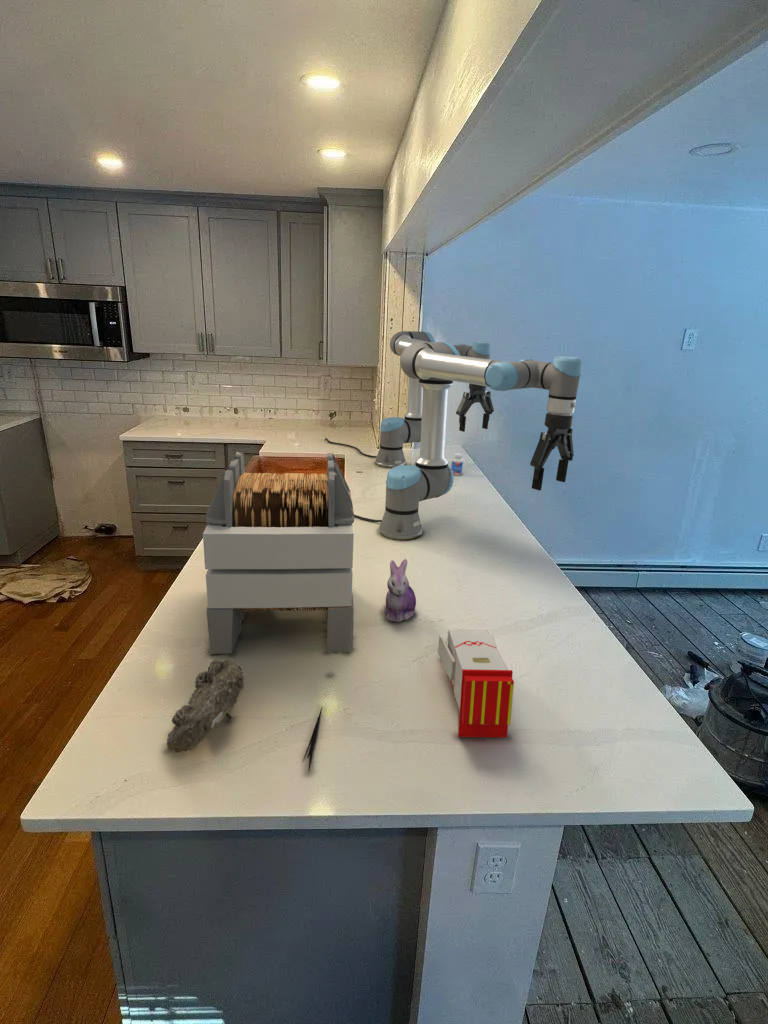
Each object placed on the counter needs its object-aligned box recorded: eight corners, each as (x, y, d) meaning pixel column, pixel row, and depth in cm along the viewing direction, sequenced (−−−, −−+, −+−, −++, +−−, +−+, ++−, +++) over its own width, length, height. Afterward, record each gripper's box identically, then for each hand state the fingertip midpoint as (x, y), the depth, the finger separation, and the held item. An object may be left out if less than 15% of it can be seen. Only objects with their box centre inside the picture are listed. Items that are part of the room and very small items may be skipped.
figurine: (392, 627, 141) (395, 572, 136) (374, 608, 149) (376, 556, 144) (425, 619, 145) (429, 566, 140) (405, 601, 154) (408, 550, 149)
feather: (331, 679, 122) (336, 673, 122) (307, 777, 96) (313, 769, 95) (324, 675, 122) (329, 669, 121) (298, 772, 95) (304, 764, 95)
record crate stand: (229, 585, 158) (221, 442, 144) (346, 584, 161) (350, 444, 148) (206, 656, 126) (193, 481, 112) (353, 652, 130) (358, 483, 116)
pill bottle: (453, 475, 274) (455, 456, 270) (448, 472, 278) (450, 453, 275) (463, 474, 276) (465, 455, 272) (458, 471, 280) (460, 452, 277)
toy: (488, 613, 130) (523, 677, 101) (484, 667, 133) (517, 744, 104) (435, 612, 130) (455, 676, 101) (432, 666, 133) (451, 743, 103)
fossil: (192, 660, 117) (244, 628, 112) (224, 691, 120) (276, 661, 115) (142, 746, 98) (202, 712, 93) (182, 779, 101) (242, 748, 96)
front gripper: (548, 420, 149) (537, 496, 157) (593, 411, 166) (581, 480, 173) (523, 415, 154) (514, 489, 162) (569, 407, 171) (558, 475, 178)
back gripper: (462, 382, 230) (457, 433, 237) (505, 380, 244) (499, 429, 251) (450, 380, 236) (446, 430, 243) (493, 378, 249) (487, 425, 257)
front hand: (548, 485), depth 167 cm, fingers open, 13 cm apart
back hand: (473, 429), depth 247 cm, fingers open, 13 cm apart
